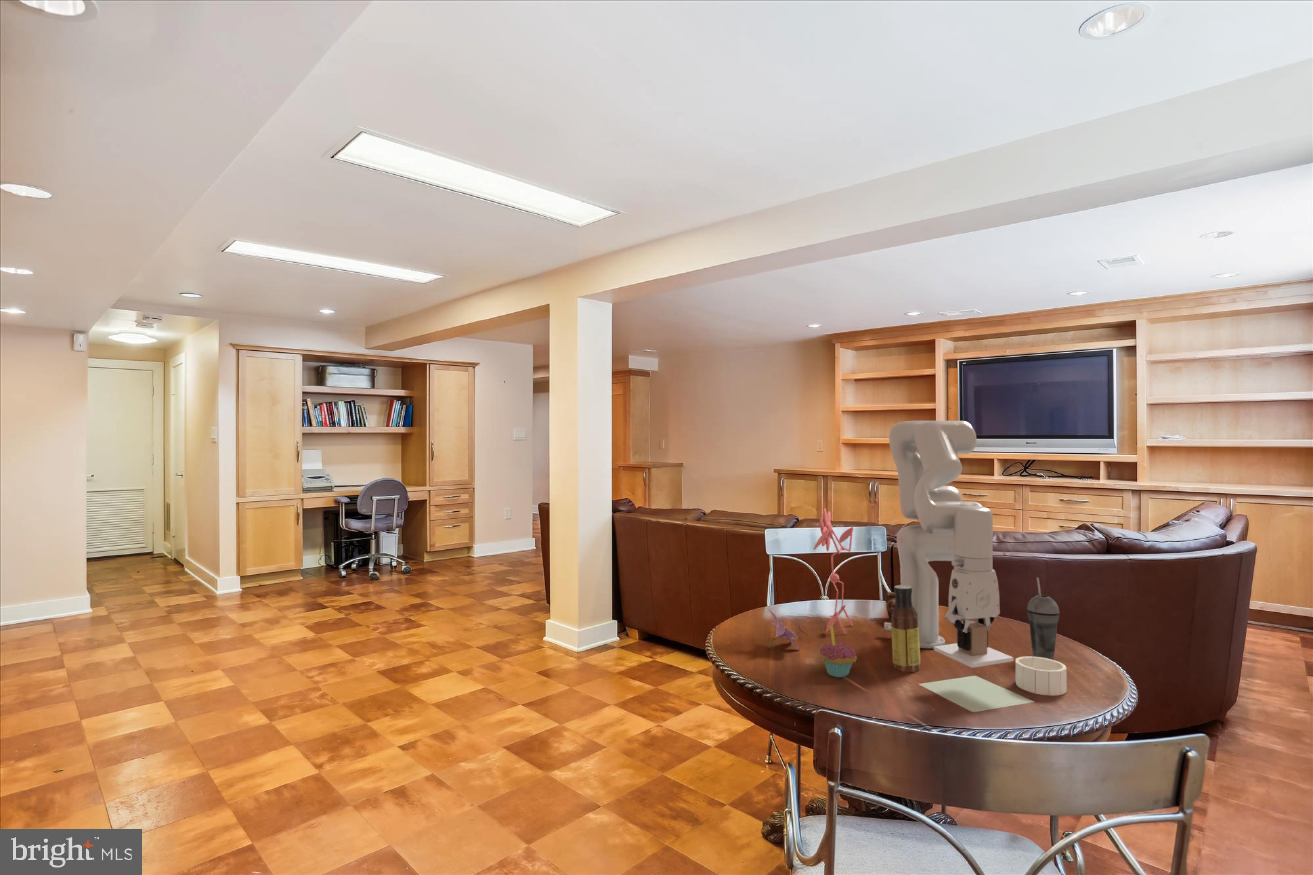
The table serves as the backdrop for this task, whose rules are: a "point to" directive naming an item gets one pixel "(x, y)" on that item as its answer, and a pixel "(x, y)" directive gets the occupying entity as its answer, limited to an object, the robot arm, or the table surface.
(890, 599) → the decorative turtle
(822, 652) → the cupcake
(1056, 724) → the table surface
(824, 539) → the figurine
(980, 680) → the mat
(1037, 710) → the table surface
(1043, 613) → the beverage cup
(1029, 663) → the bowl
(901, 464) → the robot arm
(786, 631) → the lily
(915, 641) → the sauce bottle
